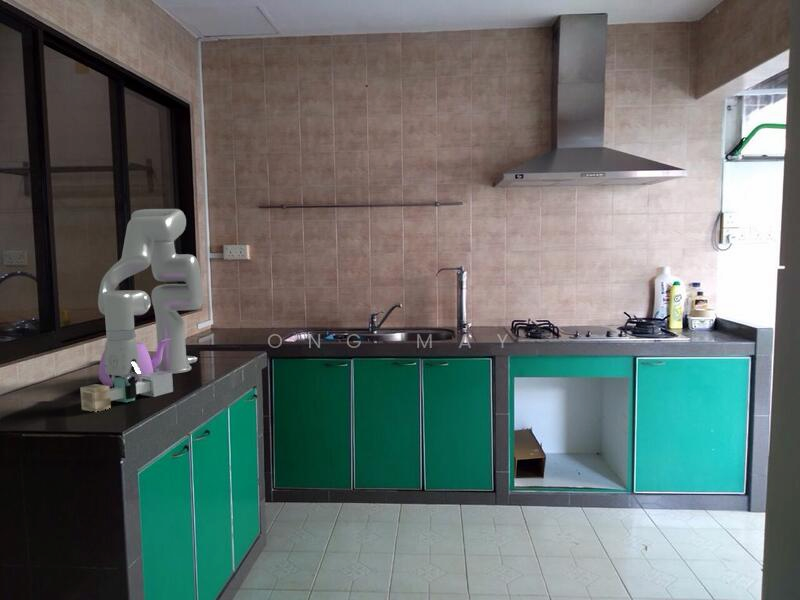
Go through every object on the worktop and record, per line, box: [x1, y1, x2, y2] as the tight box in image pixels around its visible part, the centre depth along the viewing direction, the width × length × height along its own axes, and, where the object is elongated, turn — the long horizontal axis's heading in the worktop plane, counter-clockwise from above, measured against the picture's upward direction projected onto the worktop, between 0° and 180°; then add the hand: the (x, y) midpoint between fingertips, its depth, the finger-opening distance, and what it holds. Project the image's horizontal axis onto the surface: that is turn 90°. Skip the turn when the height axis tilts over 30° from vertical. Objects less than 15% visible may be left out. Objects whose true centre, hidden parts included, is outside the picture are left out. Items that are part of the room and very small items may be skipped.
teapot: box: [98, 339, 170, 388], centre depth 200 cm, size 23×21×15 cm
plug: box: [110, 376, 151, 403], centre depth 178 cm, size 18×5×7 cm, turn 150°
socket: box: [79, 383, 112, 413], centre depth 169 cm, size 4×6×6 cm
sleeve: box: [140, 371, 174, 398], centre depth 186 cm, size 7×6×6 cm
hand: (125, 396), depth 177 cm, fingers closed on plug, 4 cm apart
